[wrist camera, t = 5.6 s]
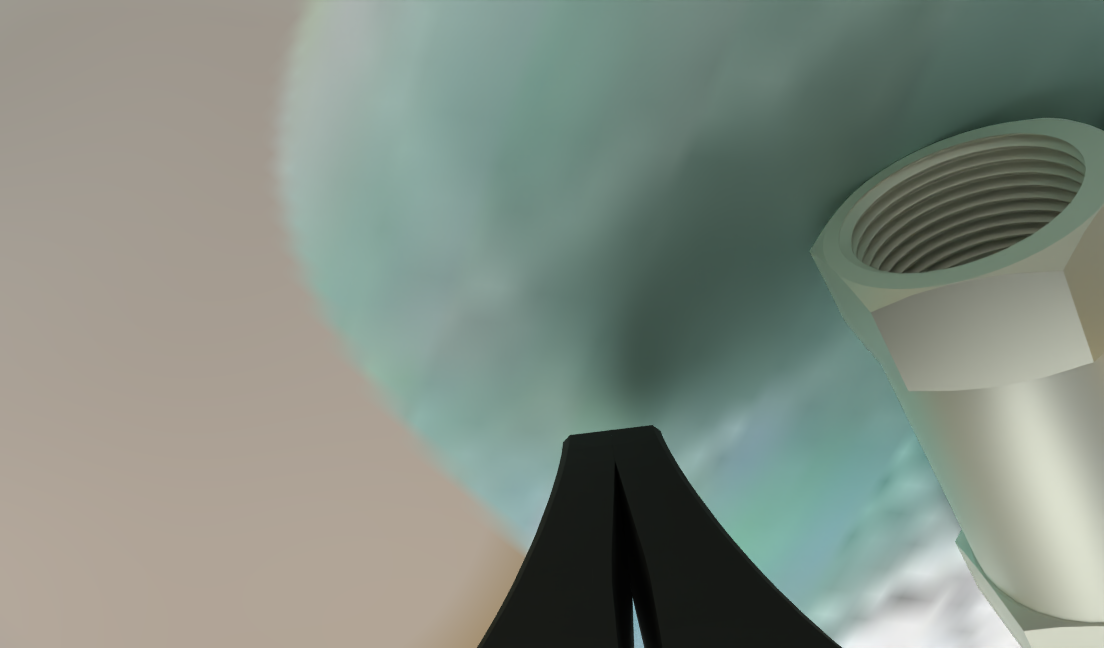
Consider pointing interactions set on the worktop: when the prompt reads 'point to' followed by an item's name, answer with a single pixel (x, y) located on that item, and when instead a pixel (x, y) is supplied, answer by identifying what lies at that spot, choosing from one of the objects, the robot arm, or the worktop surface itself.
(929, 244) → the pipe fitting
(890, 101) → the worktop surface
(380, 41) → the worktop surface
